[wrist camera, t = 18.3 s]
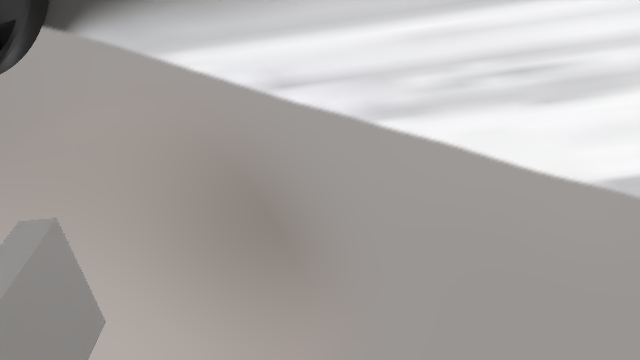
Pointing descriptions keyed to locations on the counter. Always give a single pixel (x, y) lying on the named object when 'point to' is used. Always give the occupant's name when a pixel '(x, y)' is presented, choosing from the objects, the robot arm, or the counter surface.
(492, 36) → the counter surface
